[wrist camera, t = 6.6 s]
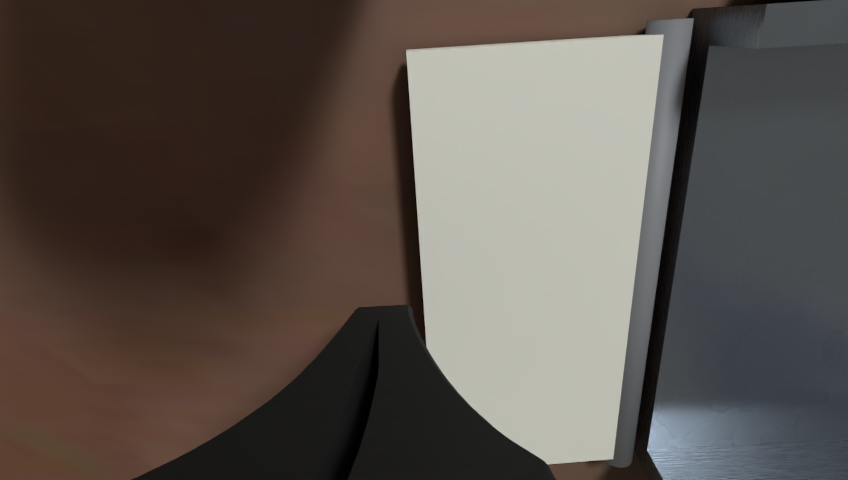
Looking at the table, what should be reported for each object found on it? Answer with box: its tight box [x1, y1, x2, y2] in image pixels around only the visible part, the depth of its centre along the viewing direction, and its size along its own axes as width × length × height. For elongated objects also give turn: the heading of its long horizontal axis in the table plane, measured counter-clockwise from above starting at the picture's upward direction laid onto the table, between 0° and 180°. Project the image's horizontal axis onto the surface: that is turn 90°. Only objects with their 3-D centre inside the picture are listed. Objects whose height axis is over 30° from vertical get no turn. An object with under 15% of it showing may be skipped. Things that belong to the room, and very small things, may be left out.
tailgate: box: [406, 18, 694, 468], centre depth 14 cm, size 14×1×7 cm
